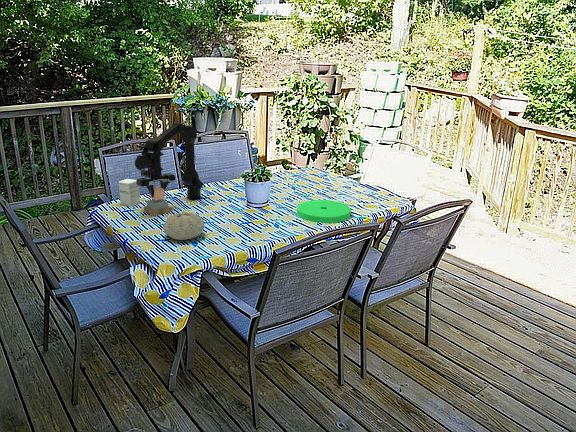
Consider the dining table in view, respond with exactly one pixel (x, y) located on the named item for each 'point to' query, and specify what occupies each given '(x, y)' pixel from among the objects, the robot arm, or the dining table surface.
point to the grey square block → (157, 204)
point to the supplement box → (129, 192)
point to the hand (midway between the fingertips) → (157, 196)
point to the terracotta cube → (158, 193)
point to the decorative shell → (183, 226)
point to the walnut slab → (157, 211)
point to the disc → (323, 211)
